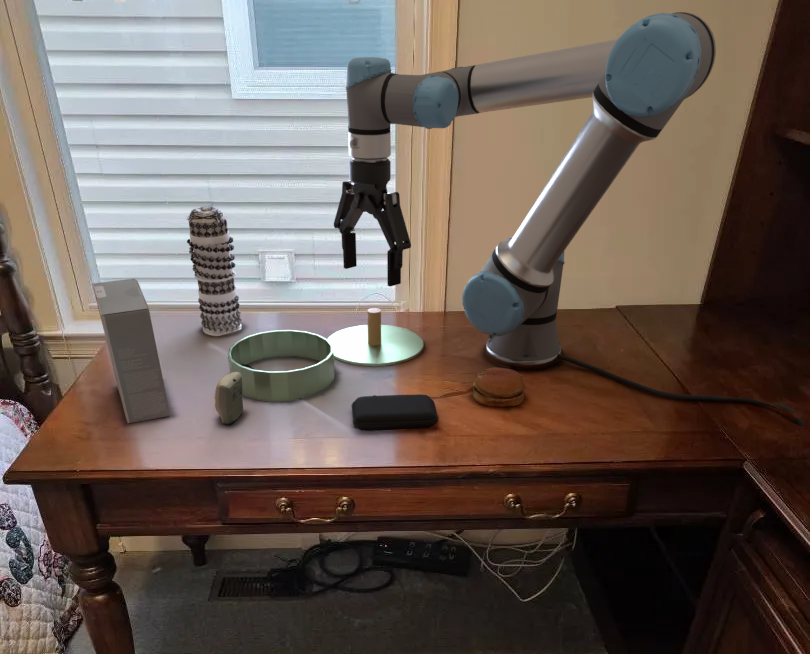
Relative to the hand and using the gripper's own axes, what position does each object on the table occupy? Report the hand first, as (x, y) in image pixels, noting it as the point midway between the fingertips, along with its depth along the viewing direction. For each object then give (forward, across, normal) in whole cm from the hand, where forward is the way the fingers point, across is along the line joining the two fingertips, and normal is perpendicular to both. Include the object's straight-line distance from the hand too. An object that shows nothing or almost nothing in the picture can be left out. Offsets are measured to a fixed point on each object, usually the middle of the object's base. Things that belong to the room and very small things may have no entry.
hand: (371, 275), depth 148 cm
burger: (+16, +32, +4) cm, 36 cm away
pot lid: (+15, 0, +1) cm, 15 cm away
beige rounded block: (+16, +8, -38) cm, 42 cm away
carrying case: (+16, +26, -16) cm, 34 cm away
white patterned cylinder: (+16, -30, -18) cm, 38 cm away
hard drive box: (+16, -9, -47) cm, 50 cm away
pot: (+15, 0, -22) cm, 27 cm away
